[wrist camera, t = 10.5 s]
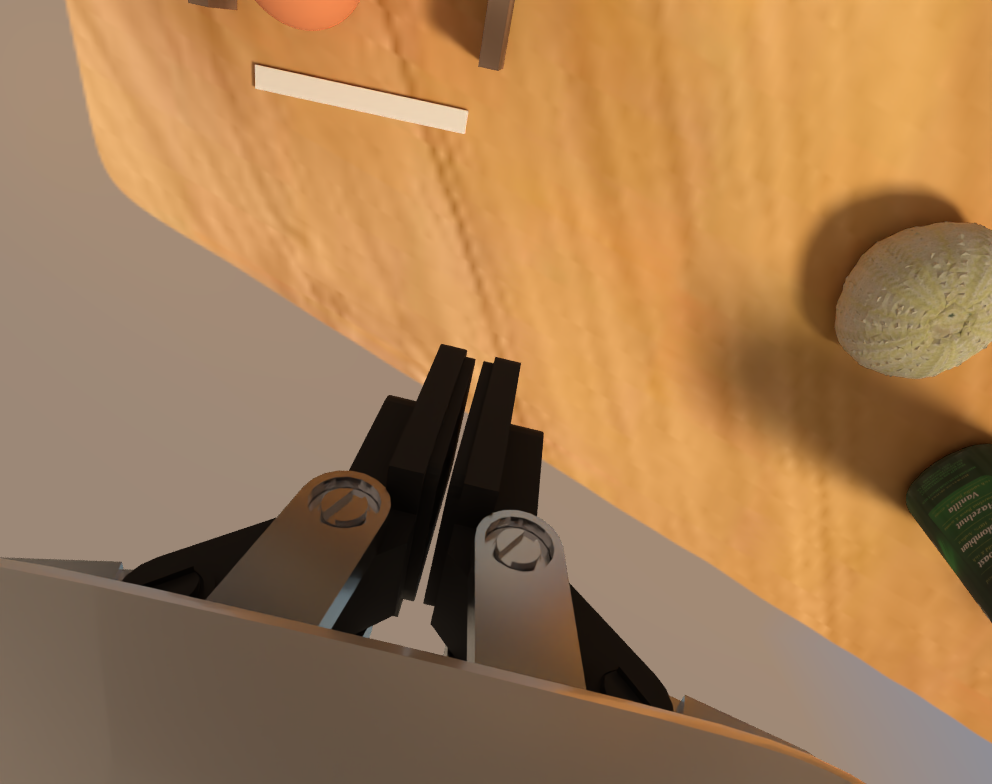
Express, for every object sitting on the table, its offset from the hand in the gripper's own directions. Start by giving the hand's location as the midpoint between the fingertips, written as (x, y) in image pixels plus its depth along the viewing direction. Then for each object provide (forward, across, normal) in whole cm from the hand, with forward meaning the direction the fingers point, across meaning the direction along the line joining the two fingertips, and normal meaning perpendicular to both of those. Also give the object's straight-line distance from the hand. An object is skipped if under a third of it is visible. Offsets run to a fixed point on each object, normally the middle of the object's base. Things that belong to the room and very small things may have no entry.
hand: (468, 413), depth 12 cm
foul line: (+26, +10, -1) cm, 28 cm away
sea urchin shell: (+27, -24, +2) cm, 36 cm away
